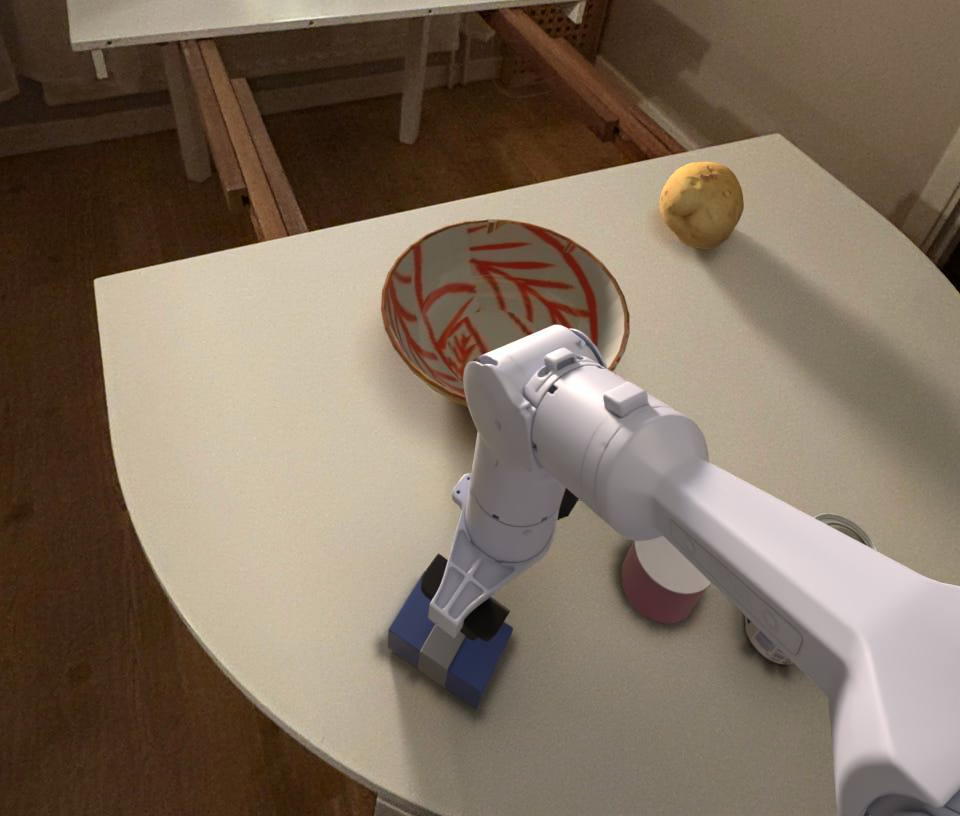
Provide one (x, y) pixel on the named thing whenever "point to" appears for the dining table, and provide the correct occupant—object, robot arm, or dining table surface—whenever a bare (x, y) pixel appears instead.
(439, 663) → the block
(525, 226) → the bowl
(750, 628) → the beverage can
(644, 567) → the yogurt
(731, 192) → the potato
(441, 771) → the dining table surface
